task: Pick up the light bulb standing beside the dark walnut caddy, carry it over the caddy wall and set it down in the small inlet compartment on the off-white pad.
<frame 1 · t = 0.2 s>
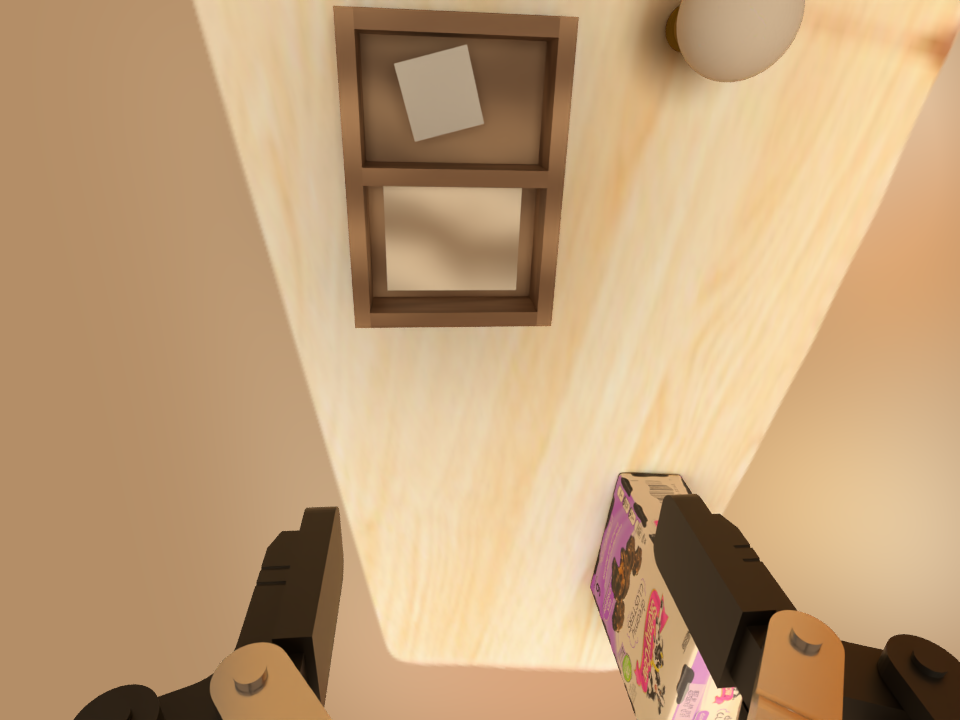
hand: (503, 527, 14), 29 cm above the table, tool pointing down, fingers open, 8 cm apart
candy box: (631, 531, 53), on the table
light bulb: (679, 29, 36), on the table
grey cube: (437, 93, 35), point 1 cm above the table, touching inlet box
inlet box: (452, 177, 38), on the table
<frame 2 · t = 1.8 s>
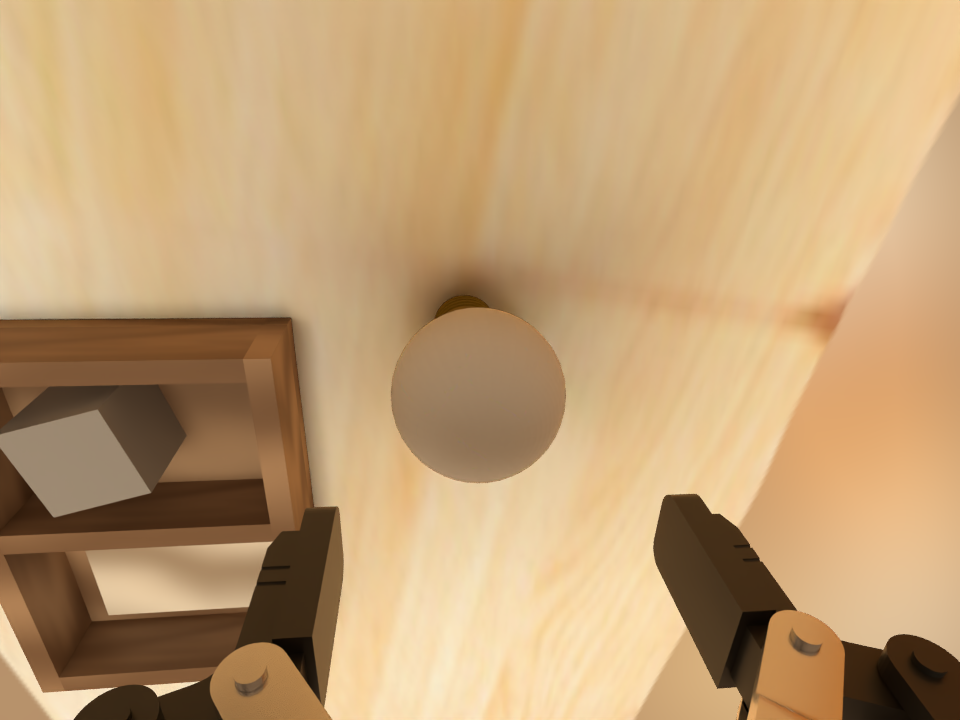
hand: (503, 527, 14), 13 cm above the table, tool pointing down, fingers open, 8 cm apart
light bulb: (462, 314, 26), on the table
grey cube: (122, 410, 25), point 1 cm above the table, touching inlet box
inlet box: (175, 488, 28), on the table
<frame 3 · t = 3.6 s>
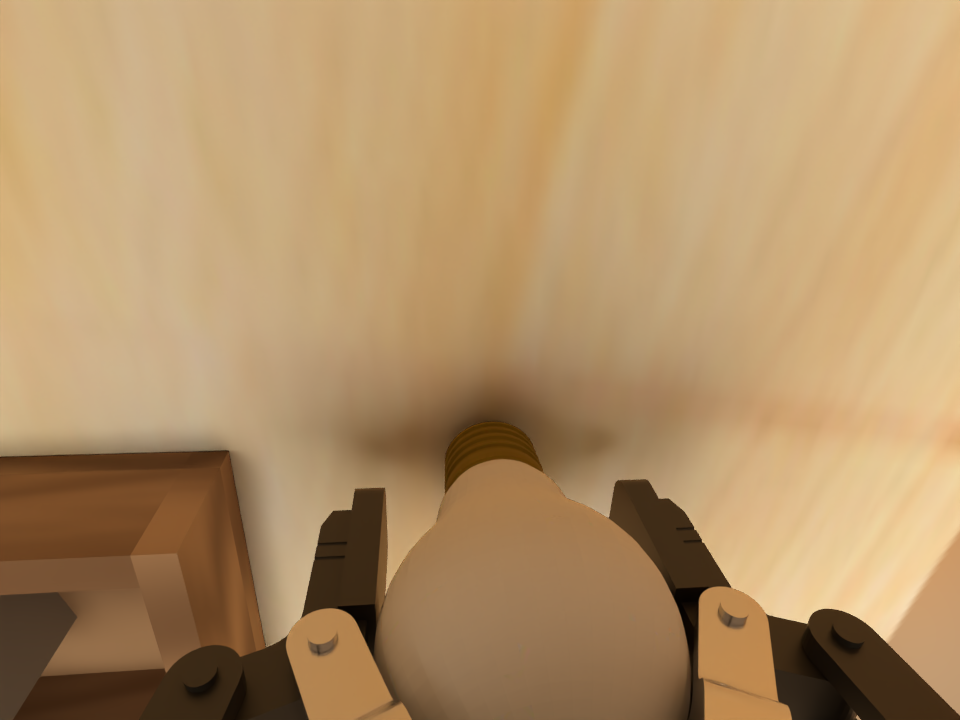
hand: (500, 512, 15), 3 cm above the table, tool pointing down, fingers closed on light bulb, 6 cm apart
light bulb: (485, 440, 18), on the table, touching gripper
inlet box: (72, 673, 20), on the table
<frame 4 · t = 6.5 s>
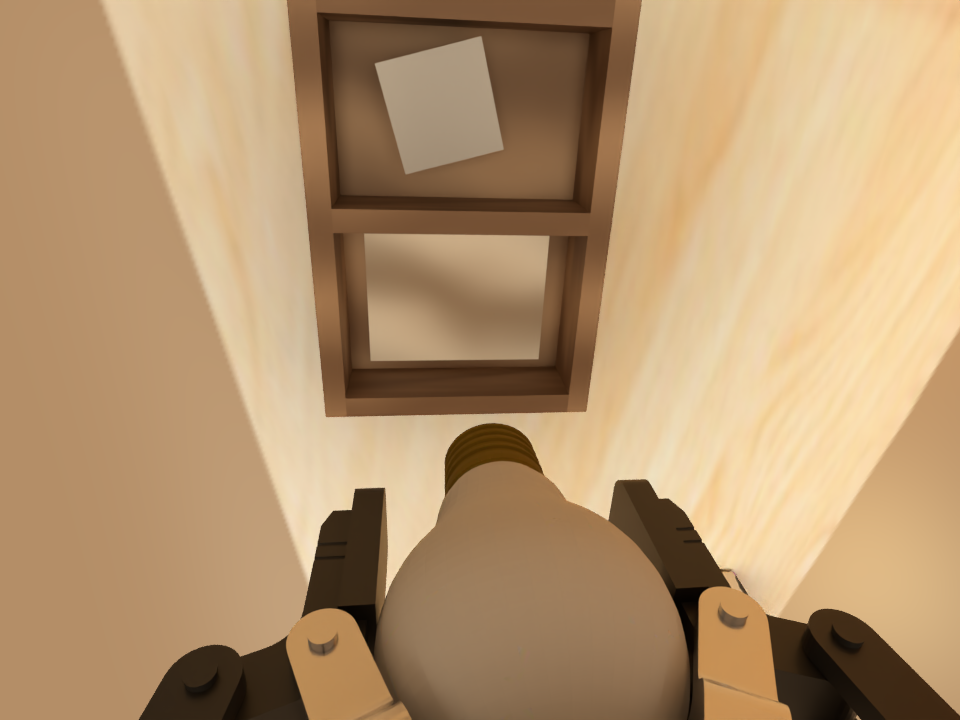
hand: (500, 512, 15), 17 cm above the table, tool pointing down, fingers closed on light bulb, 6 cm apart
light bulb: (485, 441, 18), point 14 cm above the table, touching gripper
grey cube: (438, 104, 25), point 1 cm above the table, touching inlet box
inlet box: (457, 215, 28), on the table
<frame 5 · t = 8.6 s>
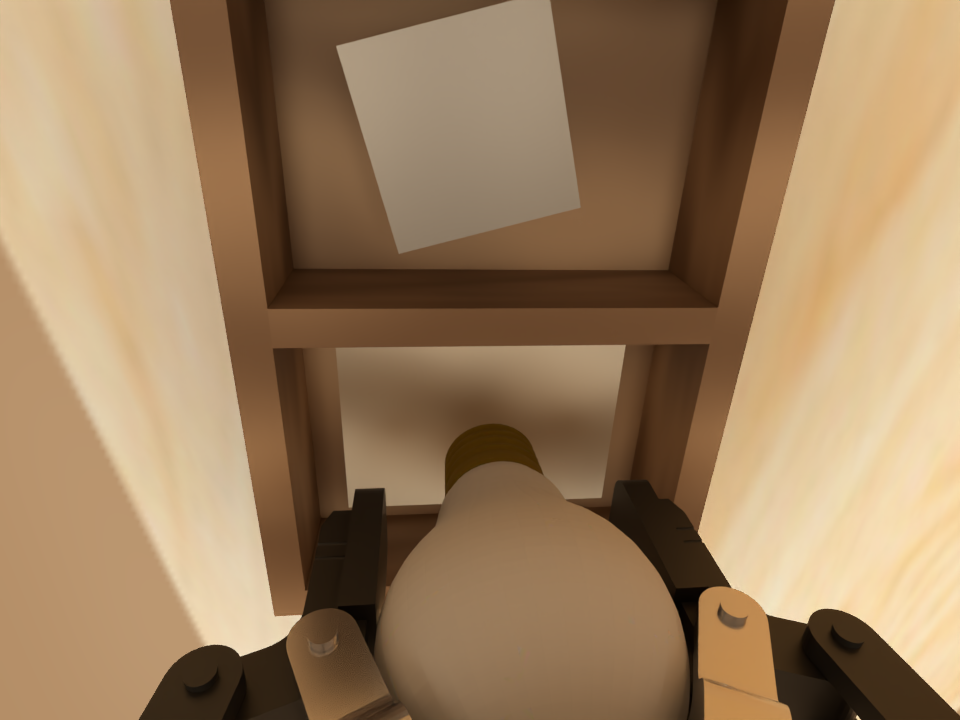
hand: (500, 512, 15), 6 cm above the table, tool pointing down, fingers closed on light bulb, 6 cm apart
light bulb: (485, 441, 18), point 2 cm above the table, touching gripper
grey cube: (455, 120, 15), point 1 cm above the table, touching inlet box
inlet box: (483, 293, 18), on the table
when the fingers open (5 cm above the table, at t = 9.5 s): light bulb drops 1 cm, resting on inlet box.
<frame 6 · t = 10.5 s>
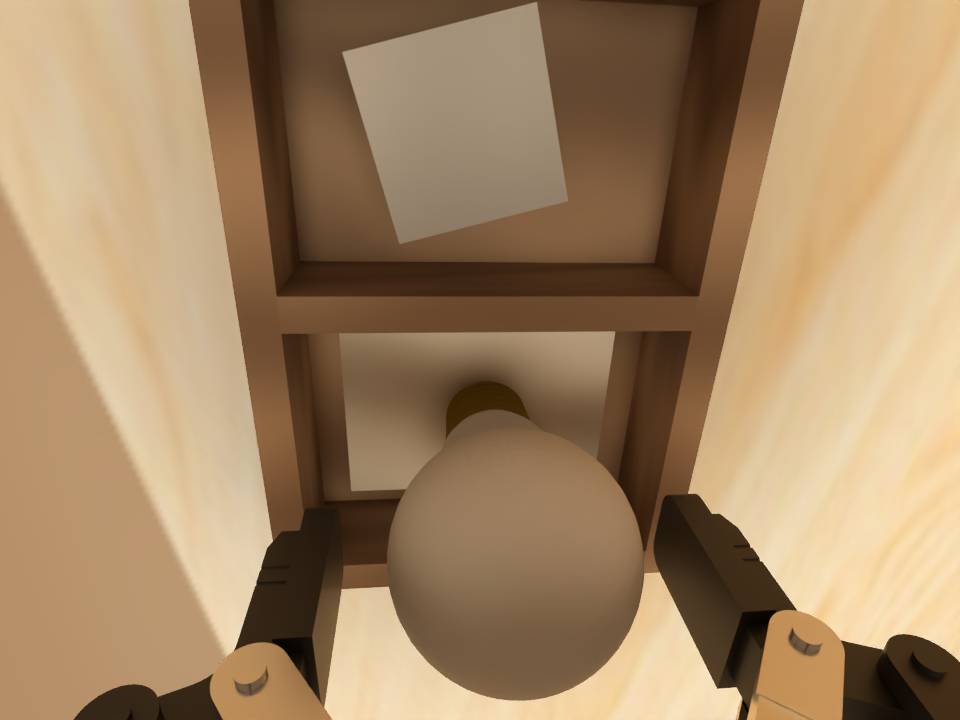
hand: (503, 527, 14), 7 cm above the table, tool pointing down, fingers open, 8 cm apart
light bulb: (482, 400, 20), point 1 cm above the table, touching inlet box
grey cube: (452, 121, 16), point 1 cm above the table, touching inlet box
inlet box: (479, 285, 19), on the table
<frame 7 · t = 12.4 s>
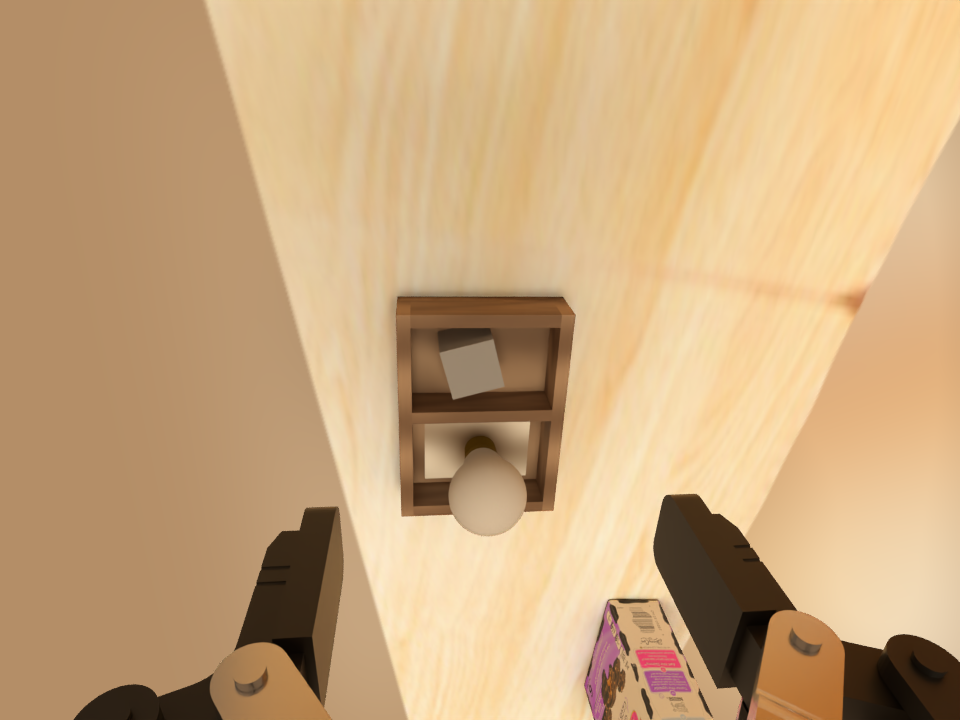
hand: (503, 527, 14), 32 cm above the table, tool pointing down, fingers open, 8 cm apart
candy box: (618, 641, 64), on the table
light bulb: (478, 442, 50), point 1 cm above the table, touching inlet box
grey cube: (468, 348, 46), point 1 cm above the table, touching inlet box
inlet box: (477, 398, 49), on the table
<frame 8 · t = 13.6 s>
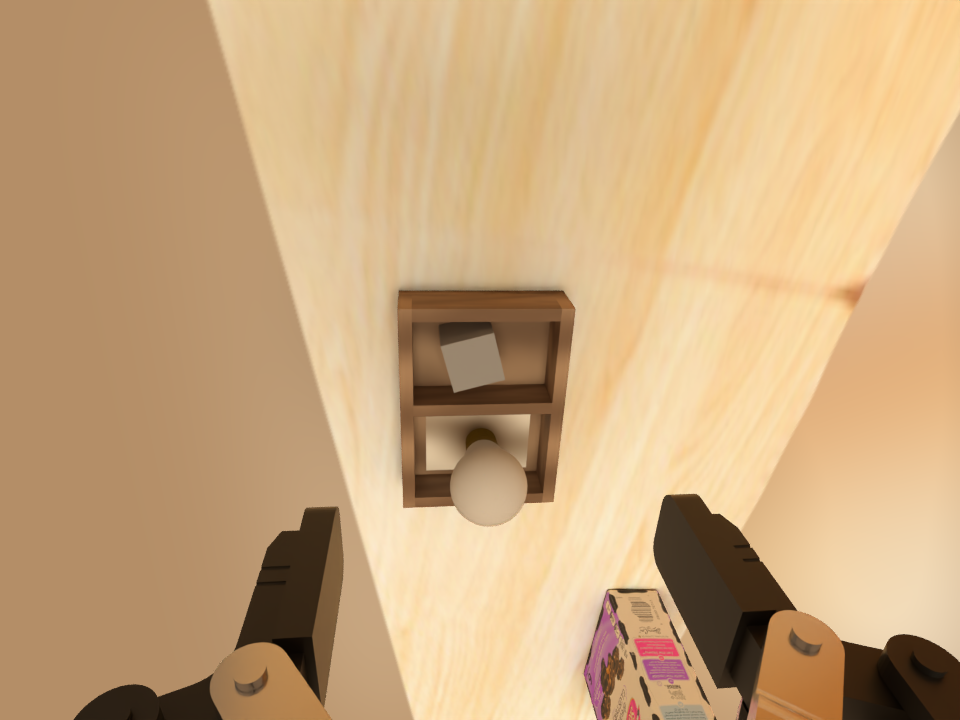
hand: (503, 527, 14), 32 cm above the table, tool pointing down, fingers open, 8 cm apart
candy box: (617, 630, 65), on the table
light bulb: (479, 434, 50), point 1 cm above the table, touching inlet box
grey cube: (469, 341, 46), point 1 cm above the table, touching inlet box
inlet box: (478, 390, 49), on the table
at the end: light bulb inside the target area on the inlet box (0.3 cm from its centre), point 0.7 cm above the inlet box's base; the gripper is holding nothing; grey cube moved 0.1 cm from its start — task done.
